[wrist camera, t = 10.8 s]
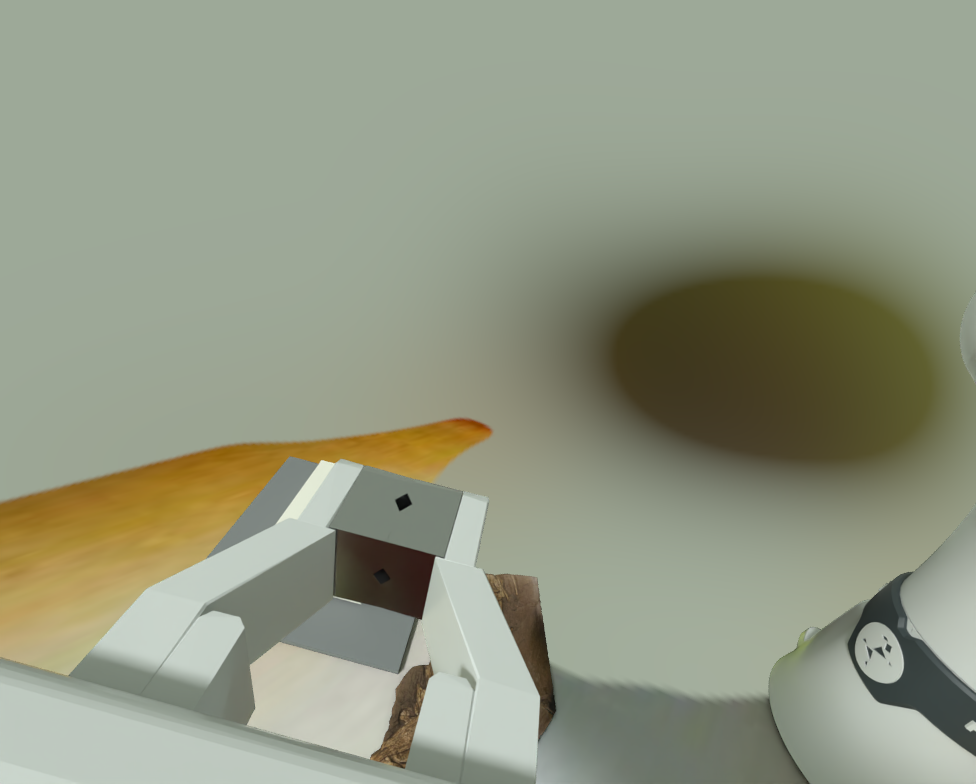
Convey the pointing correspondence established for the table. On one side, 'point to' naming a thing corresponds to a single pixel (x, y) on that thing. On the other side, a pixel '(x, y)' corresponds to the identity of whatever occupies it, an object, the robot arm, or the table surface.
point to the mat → (339, 622)
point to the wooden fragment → (528, 631)
